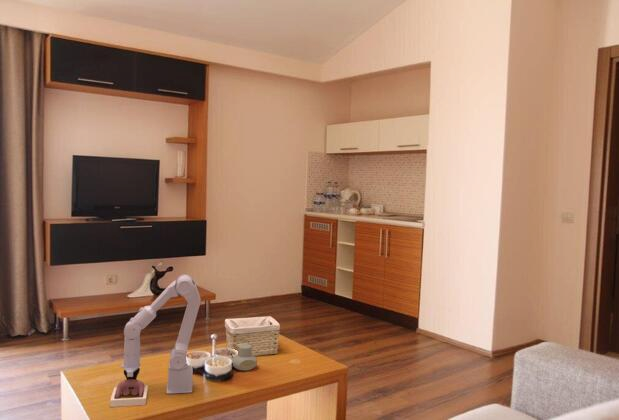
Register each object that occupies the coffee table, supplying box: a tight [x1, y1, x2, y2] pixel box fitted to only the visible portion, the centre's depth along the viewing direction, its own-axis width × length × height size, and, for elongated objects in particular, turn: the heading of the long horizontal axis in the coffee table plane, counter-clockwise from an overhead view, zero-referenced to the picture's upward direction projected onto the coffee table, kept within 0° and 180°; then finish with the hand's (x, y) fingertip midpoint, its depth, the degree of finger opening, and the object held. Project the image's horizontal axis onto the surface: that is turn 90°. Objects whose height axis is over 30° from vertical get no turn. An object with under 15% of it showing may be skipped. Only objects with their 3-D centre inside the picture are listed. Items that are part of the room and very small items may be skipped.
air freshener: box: [231, 344, 258, 372], centre depth 227 cm, size 11×8×10 cm
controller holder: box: [109, 384, 149, 408], centre depth 192 cm, size 12×12×2 cm
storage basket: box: [224, 315, 281, 357], centre depth 249 cm, size 24×16×15 cm
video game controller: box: [116, 378, 145, 399], centre depth 195 cm, size 10×5×7 cm, turn 98°
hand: (131, 388), depth 198 cm, fingers closed
